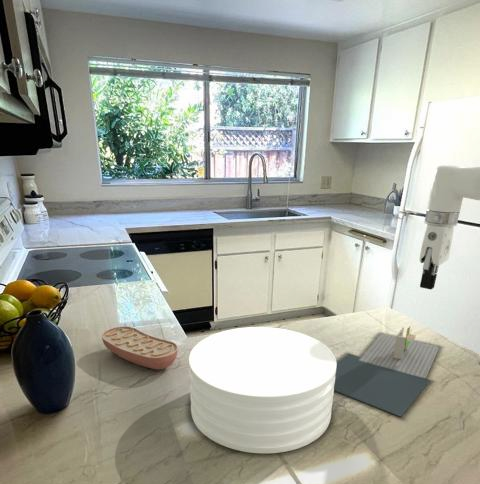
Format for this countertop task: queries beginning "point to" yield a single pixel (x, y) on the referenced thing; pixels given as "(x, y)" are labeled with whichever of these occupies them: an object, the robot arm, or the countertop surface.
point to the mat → (377, 385)
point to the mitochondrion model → (140, 347)
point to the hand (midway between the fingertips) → (426, 287)
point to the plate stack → (261, 388)
